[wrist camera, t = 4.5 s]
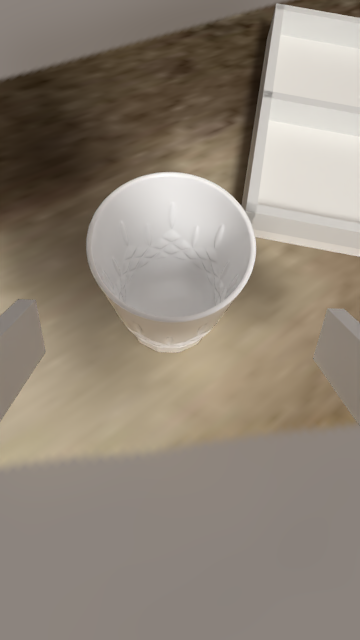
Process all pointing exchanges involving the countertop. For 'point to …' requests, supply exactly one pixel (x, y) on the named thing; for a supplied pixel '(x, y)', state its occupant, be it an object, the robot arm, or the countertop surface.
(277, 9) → the white divided tray
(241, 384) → the countertop surface
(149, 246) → the white cup
